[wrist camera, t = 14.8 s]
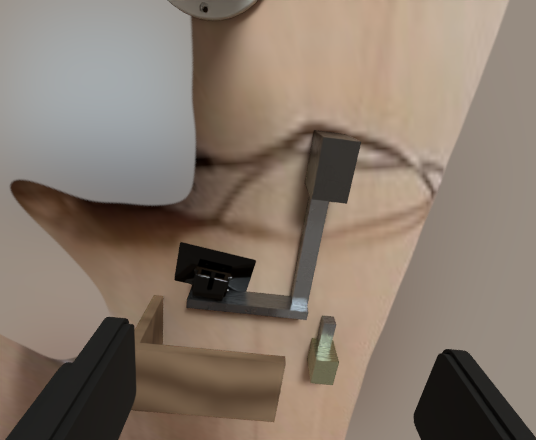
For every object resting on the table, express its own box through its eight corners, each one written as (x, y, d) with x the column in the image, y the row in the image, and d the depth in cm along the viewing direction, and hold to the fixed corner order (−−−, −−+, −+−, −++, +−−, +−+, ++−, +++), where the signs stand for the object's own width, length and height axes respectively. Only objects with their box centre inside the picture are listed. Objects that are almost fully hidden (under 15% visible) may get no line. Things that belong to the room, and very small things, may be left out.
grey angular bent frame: (200, 114, 34) (187, 118, 28) (345, 134, 35) (361, 141, 29) (191, 293, 42) (180, 323, 36) (309, 305, 43) (315, 337, 37)
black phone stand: (268, 255, 41) (269, 275, 37) (254, 301, 43) (253, 324, 39) (171, 233, 39) (160, 250, 35) (162, 281, 42) (151, 303, 38)
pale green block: (317, 315, 43) (322, 335, 40) (338, 317, 44) (345, 338, 40) (307, 359, 46) (310, 383, 43) (327, 361, 46) (332, 385, 43)
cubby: (154, 295, 42) (124, 348, 33) (281, 308, 43) (285, 363, 34) (154, 348, 45) (127, 409, 36) (272, 359, 46) (274, 422, 37)
